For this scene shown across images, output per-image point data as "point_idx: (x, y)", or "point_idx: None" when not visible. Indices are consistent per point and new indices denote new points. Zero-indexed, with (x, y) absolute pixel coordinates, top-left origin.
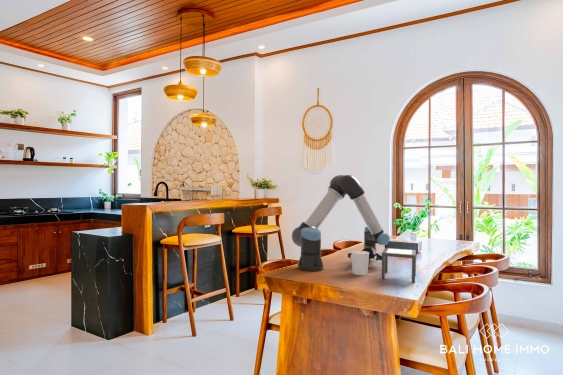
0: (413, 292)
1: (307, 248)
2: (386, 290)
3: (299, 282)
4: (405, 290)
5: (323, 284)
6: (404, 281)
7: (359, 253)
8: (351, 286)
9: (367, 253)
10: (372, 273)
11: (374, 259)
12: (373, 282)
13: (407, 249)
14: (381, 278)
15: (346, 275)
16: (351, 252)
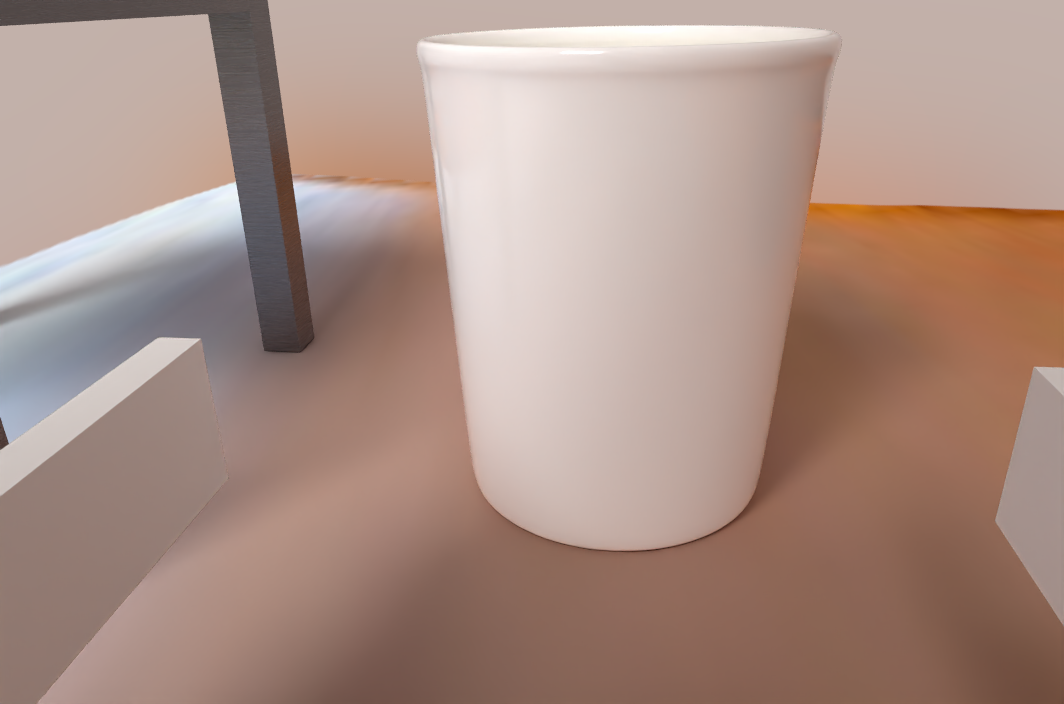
0: (182, 215)
1: None
2: (367, 212)
3: (1045, 211)
4: (219, 225)
5: (843, 213)
6: (50, 334)
7: (672, 130)
8: None
9: (464, 33)
10: (366, 518)
11: (199, 395)
12: (434, 277)
13: None
14: (312, 326)
15: (786, 368)
16: (808, 36)
